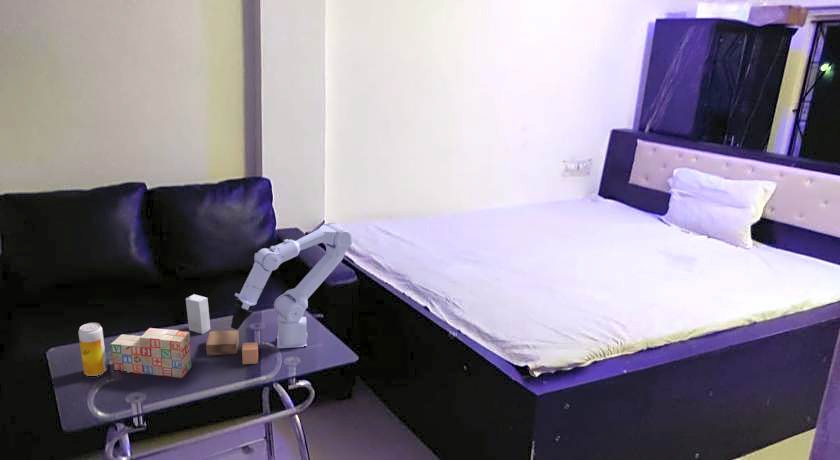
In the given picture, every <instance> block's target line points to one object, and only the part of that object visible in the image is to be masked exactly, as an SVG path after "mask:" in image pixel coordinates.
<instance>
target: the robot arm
mask: <svg viewBox="0 0 840 460" xmlns="http://www.w3.org/2000/svg"><path fill="white" fill-rule="evenodd" d="M321 243H323V244H324V245H325V249H326V252H325V254H324V255H323V256H322V257H321V258H320V259H319V260H318V261H317V263H316V264H315V265H314V266H313V267H312V269H311V270H309V272H308V273H307V274H306V275H305V276H304V277H303V278H302V279H301V281H300V282H299V283H298V284H297V285H296V286H295V287H294V288H291V289H290V288H289V289H288V290H286V291H285V292H284V293H283V294H281V295H279V296H278V297H276V299H275V300H274V302H273V308H274V310H275V311H276V312H277V332H278V333H277V337H276V348H277V349H289V348H290V349H292V348H305V347H304V346H306V347H307V345H308V344H307V339H308V332H307V317H306V316H304V313H305V312H306V309H308V308H309V306H308V305H309V304H308V303H309V301H308V299H309V298H310V297H311V296H312V295H313V294H314V293H315V291H316V290H317V289H318V288H319V287H320V286H321V284H322V283H323V282H324V281H325V280H326V279H327V278H328V276H329V275H331V274H332V272H333V271H334V270H335V269H336V267H338V266H339V264H340V263H341V262H342V260H343V259H344V257H345V255H346V252H347V250H348V249H349V248H350V247H351V246H352V244H353V237H352V232H351V231H350V230H348V229H347V228H343V227H342V226H340V225H338V224H336V223H335V222H328V223H326V224H322V225H321V226H320V227H319V228H318V229H316V230H315V231H312V232H310V233H308V234H307V235H304V236H302V237H300V238H299V239H296V240H294V239H288V238H286V239H283V242H281V243H278V244H276V245H271V246H270V247H269V248H265V247H264V248H261V249H260V250H258V252H255V253H254V256H253V257H254V258H253V260H254V263H253V265H252V268H251V270H250V272H249V274H248V276H247V278H246V280H245V282H244V284H243V287H242V288H241V291H240V293H237V292H235V294H234V296H235V297H237V298H235V304H234V305H235V306H234V312H233V315H232V319H231V325H230V328H232V329H234V330H238V329H239V328H240V327H241V326H242V325H243V323H245V321H246V320H247V319H248V318H249V317H250V316H251V315H252V314H253V312H254V311H253V310H251V309H252V308H253V307H254V306H255V305H257V303H258V300H259V298H260V296H261V294H262V292H263V290H264V288H265V286H266V284H267V281H268V280H269V278H270V276H271V275H272V272H273V271H276V270H277V269H279V268H280V267H279V266H281V264H283V263H284V262H287V261H289V260H291V259H293V258H296V257H298V255H299V254H300V252H301V251H302V250H305V249H308V248H311V247H313V246H317V245H320V244H321Z"/></svg>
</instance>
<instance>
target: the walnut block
mask: <svg viewBox="0 0 840 460" xmlns="http://www.w3.org/2000/svg"><path fill="white" fill-rule="evenodd" d="M239 335H240V333H239V330H238V329H237V330H236V329H234V330H212V331H210V330H209V334H208V337H207V340H206V343H205V344H206V345H205V350H206V356H216V355H217V356H220V355H222V356H223V355H237V353H238V347H239V343H240V336H239Z"/></svg>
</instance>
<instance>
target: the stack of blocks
mask: <svg viewBox="0 0 840 460" xmlns="http://www.w3.org/2000/svg"><path fill="white" fill-rule="evenodd" d="M110 349H111V354H112V355H111V356H112V362H113V365H112V366H113V370H114V369H118V370H123V371H127V372H126V373H130V372H133V373H134V374H142V375H143V374H144V375H151V376H152V375H153V376H154V375H155V376H161V377H162V376H163V377H169V378H170V377H172V378H181V379H183V378H184V376H186V375H187V373H188V372H189V371H190V369H191V368H192V357H191V339H190V331H186V330H185V331H184V330H177V329H167V328H166V329H165V328H153V327H149V328H148V329H147V330H145V332H144V333H143V334H142V335H134V334H132V335H131V334H124V333H123V334H120V335H119V336H118V337H117V338H116V339H114V341H112V342H111V343H110ZM123 371H122V372H123ZM133 373H132V374H133Z"/></svg>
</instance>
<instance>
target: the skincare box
mask: <svg viewBox="0 0 840 460" xmlns="http://www.w3.org/2000/svg"><path fill="white" fill-rule="evenodd" d="M208 299H209V298H208V297H205V296H202V295H200V294H199V295H198V294H195V293H193V294H192V295H190V296H188V297H186V298H185V305H186V312H187V313H186V314H187V323H188V331H189V332H190V331H191V332H193V333H198V334H201V335H204V334H206V333H207V332H210V330H211V320H210V312H209V311H210V308H209V302H208V301H209V300H208Z"/></svg>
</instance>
